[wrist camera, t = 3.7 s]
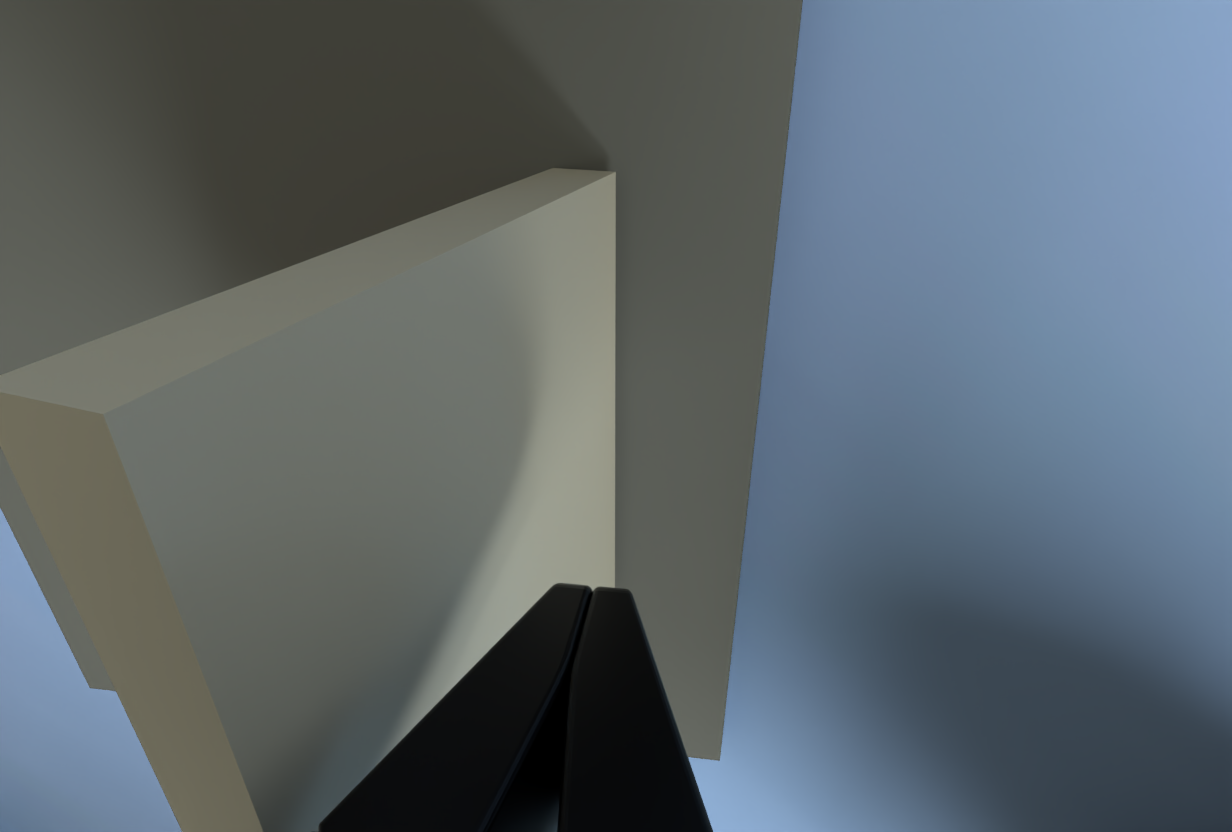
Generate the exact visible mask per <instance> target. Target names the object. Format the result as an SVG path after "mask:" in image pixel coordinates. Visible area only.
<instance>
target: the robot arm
mask: <svg viewBox="0 0 1232 832" xmlns="http://www.w3.org/2000/svg"><path fill="white" fill-rule="evenodd" d="M312 832H315V831H312ZM318 832H713V830H712V827H711V824H710V821H709V818H708V815H707V812H706V809H705V806H704V803H703V800H702V798H701V795H700V792H699V789H698V786H697V783H696V780H695V777H694V774H693V771H692V768H691V765H690V762H689V759H688V756H687V753H686V750H685V747H684V744H683V741H682V738H681V735H680V733H679V730H678V727H677V724H676V721H675V718H674V715H673V712H672V709H671V706H670V703H669V700H668V697H667V694H666V691H665V688H664V685H663V682H662V679H661V676H660V673H659V670H658V668H657V665H656V662H655V659H654V656H653V653H652V650H651V647H650V644H649V641H648V638H647V635H646V632H645V629H644V626H643V623H642V620H641V617H640V614H639V611H638V608H637V606H636V603H635V600H634V597H633V594H632V593H631V591H630V590H628V589H624V588H613V587H602V586H598V587H596V588H595V589H594V590H593V591H592V589H591V587H589V586H588V585H580V584H570V583H557V584H554V585H553V586H552V587H551V588H550V589H549V590H548V591H547V592H546V593H545V594H544V595H543V596H542V597H541V598H540V599H539V600H538V601H537V602H536V603H535V604H534V605H533V606H532V607H531V608H530V609H529V610H528V611H527V612H526V613H525V614H524V615H523V616H522V617H521V618H520V619H519V620H518V621H517V622H516V623H515V624H514V625H513V626H512V627H511V628H510V629H509V630H508V631H507V632H506V634H505V635H504V636H503V637H502V638H501V639H500V640H499V641H498V642H497V643H496V644H495V645H494V646H493V647H492V648H491V649H490V650H489V651H488V652H487V653H486V654H485V655H484V656H483V657H482V658H481V659H480V660H479V661H478V662H477V663H476V664H475V665H474V666H473V667H472V668H471V669H470V670H469V671H468V672H467V673H466V674H465V675H464V676H463V677H462V678H461V679H460V680H459V682H458V683H457V684H456V685H455V686H454V687H453V688H452V689H451V690H450V691H449V692H448V693H447V694H446V695H445V696H444V697H443V698H442V699H441V700H440V701H439V702H438V703H437V704H436V705H435V706H434V707H433V708H432V709H431V710H430V711H429V712H428V713H427V714H426V715H425V716H424V717H423V718H422V719H421V720H420V721H419V722H418V723H417V724H416V725H415V726H414V727H413V728H412V730H411V731H410V732H409V733H408V734H407V735H406V736H405V737H404V738H403V739H402V740H401V741H400V742H399V743H398V744H397V745H396V746H395V747H394V748H393V749H392V750H391V751H390V752H389V753H388V754H387V755H386V756H385V757H384V758H383V759H382V760H381V761H380V762H379V763H378V764H377V765H376V766H375V767H374V768H373V769H372V770H371V771H370V772H369V773H368V774H367V775H366V776H365V778H364V779H363V780H362V781H361V782H360V783H359V784H358V785H357V786H356V787H355V788H354V789H353V790H352V791H351V792H350V793H349V794H348V795H347V796H346V797H345V798H344V799H343V800H342V801H341V802H340V803H339V804H338V805H337V806H336V807H335V808H334V809H333V810H332V811H331V812H330V813H329V814H328V815H327V816H326V817H325V818H324V819H323V820H322V821H321V822H320V824H319V826H318Z"/></svg>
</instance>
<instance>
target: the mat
mask: <svg viewBox="0 0 1232 832" xmlns="http://www.w3.org/2000/svg"><path fill="white" fill-rule="evenodd" d="M802 1H803V0H0V375H2V374H5V373H8V372H10V371H13V370H16V369H18V368H21V367H24V366H26V365H29V364H32V363H34V362H37V361H40V360H42V359H45V358H48V357H50V356H53V355H56V354H58V353H61V352H64V351H66V350H69V349H72V348H74V347H77V346H80V345H82V344H85V343H88V342H90V341H93V340H96V339H98V338H101V337H104V336H106V335H109V334H112V333H114V332H117V331H120V330H122V329H125V328H128V327H130V326H133V325H136V324H138V323H141V322H144V321H146V320H149V319H152V318H154V317H157V316H160V315H162V314H165V313H168V312H170V311H173V310H176V309H178V308H181V307H184V306H186V305H189V304H192V303H194V302H197V301H200V300H202V299H205V298H208V297H210V296H213V295H216V294H218V293H221V292H224V291H226V290H229V289H232V288H234V287H237V286H240V285H242V284H245V283H248V282H250V281H253V280H256V279H258V278H261V277H264V276H266V275H269V274H272V273H274V272H277V271H280V270H282V269H285V268H288V267H290V266H293V265H296V264H298V263H301V262H304V261H306V260H309V259H312V258H314V257H317V256H320V255H322V254H325V253H328V252H330V251H333V250H336V249H338V248H341V247H344V246H346V245H349V244H351V243H354V242H357V241H359V240H362V239H365V238H367V237H370V236H373V235H375V234H378V233H381V232H383V231H386V230H389V229H391V228H394V227H397V226H399V225H402V224H405V223H407V222H410V221H413V220H415V219H418V218H421V217H423V216H426V215H429V214H431V213H434V212H437V211H439V210H442V209H445V208H447V207H450V206H453V205H455V204H458V203H461V202H463V201H466V200H469V199H471V198H474V197H477V196H479V195H482V194H485V193H487V192H490V191H493V190H495V189H498V188H501V187H503V186H506V185H509V184H511V183H514V182H517V181H519V180H522V179H525V178H527V177H530V176H533V175H535V174H538V173H541V172H543V171H546V170H549V169H551V168H562V169H578V170H595V171H611V172H616V285H615V588H624V589H628V590H630V591H631V593H632V594H633V597H634V600H635V603H636V606H637V608H638V611H639V614H640V617H641V620H642V623H643V626H644V629H645V632H646V635H647V638H648V641H649V644H650V647H651V650H652V653H653V656H654V659H655V662H656V665H657V668H658V670H659V673H660V676H661V679H662V682H663V685H664V688H665V691H666V694H667V697H668V700H669V703H670V706H671V709H672V712H673V715H674V718H675V721H676V724H677V727H678V730H679V733H680V735H681V738H682V741H683V744H684V747H685V750H686V753H687V756H688V757H693V758H701V759H710V760H719V761H720V753H721V744H722V735H723V726H724V716H725V707H726V698H727V689H728V680H729V671H730V661H731V652H732V643H733V634H734V625H735V616H736V606H737V597H738V588H739V579H740V570H741V561H742V551H743V542H744V533H745V524H746V515H747V506H748V496H749V487H750V478H751V469H752V460H753V451H754V441H755V432H756V423H757V414H758V405H759V396H760V386H761V377H762V368H763V359H764V350H765V341H766V331H767V322H768V313H769V304H770V295H771V286H772V276H773V267H774V258H775V249H776V240H777V231H778V221H779V212H780V203H781V194H782V185H783V176H784V166H785V157H786V148H787V139H788V130H789V121H790V111H791V102H792V93H793V84H794V75H795V66H796V56H797V47H798V38H799V29H800V20H801V10H802ZM0 508H1V510H2V512H3V514H4V516H5V518H6V520H7V522H8V524H9V526H10V528H11V530H12V532H13V534H14V536H15V538H16V540H17V542H18V544H19V546H20V548H21V550H22V552H23V554H24V556H25V558H26V560H27V562H28V564H29V566H30V568H31V570H32V572H33V574H34V576H35V578H36V580H37V582H38V584H39V586H40V588H41V590H42V592H43V594H44V596H45V598H46V600H47V602H48V604H49V606H50V608H51V610H52V612H53V614H54V616H55V618H56V620H57V623H58V625H59V627H60V629H61V631H62V633H63V635H64V637H65V639H66V641H67V643H68V645H69V647H70V649H71V651H72V653H73V655H74V657H75V659H76V661H77V663H78V665H79V667H80V669H81V671H82V673H83V675H84V677H85V679H86V681H87V683H88V685H89V687H90V688H94V689H103V690H111V691H116V690H115V688H114V686H113V684H112V682H111V679H110V677H109V675H108V673H107V671H106V669H105V667H104V665H103V662H102V660H101V658H100V656H99V654H98V652H97V650H96V648H95V646H94V643H93V641H92V639H91V637H90V635H89V633H88V631H87V629H86V627H85V624H84V622H83V620H82V618H81V616H80V614H79V612H78V610H77V607H76V605H75V603H74V601H73V599H72V597H71V595H70V593H69V591H68V588H67V586H66V584H65V582H64V580H63V578H62V576H61V574H60V571H59V569H58V567H57V565H56V563H55V561H54V559H53V557H52V555H51V552H50V550H49V548H48V546H47V544H46V542H45V540H44V538H43V535H42V533H41V531H40V529H39V527H38V525H37V523H36V521H35V519H34V516H33V514H32V512H31V510H30V508H29V506H28V504H27V502H26V499H25V497H24V495H23V493H22V491H21V489H20V487H19V485H18V483H17V480H16V478H15V476H14V474H13V472H12V470H11V468H10V466H9V464H8V461H7V459H6V457H5V455H4V453H3V451H2V449H1V447H0Z"/></svg>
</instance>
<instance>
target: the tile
mask: <svg viewBox="0 0 1232 832" xmlns="http://www.w3.org/2000/svg"><path fill="white" fill-rule="evenodd" d="M615 285H616V172H611V171H595V170H578V169H562V168H551V169H549V170H546V171H543V172H541V173H538V174H535V175H533V176H530V177H527V178H525V179H522V180H519V181H517V182H514V183H511V184H509V185H506V186H503V187H501V188H498V189H495V190H493V191H490V192H487V193H485V194H482V195H479V196H477V197H474V198H471V199H469V200H466V201H463V202H461V203H458V204H455V205H453V206H450V207H447V208H445V209H442V210H439V211H437V212H434V213H431V214H429V215H426V216H423V217H421V218H418V219H415V220H413V221H410V222H407V223H405V224H402V225H399V226H397V227H394V228H391V229H389V230H386V231H383V232H381V233H378V234H375V235H373V236H370V237H367V238H365V239H362V240H359V241H357V242H354V243H351V244H349V245H346V246H344V247H341V248H338V249H336V250H333V251H330V252H328V253H325V254H322V255H320V256H317V257H314V258H312V259H309V260H306V261H304V262H301V263H298V264H296V265H293V266H290V267H288V268H285V269H282V270H280V271H277V272H274V273H272V274H269V275H266V276H264V277H261V278H258V279H256V280H253V281H250V282H248V283H245V284H242V285H240V286H237V287H234V288H232V289H229V290H226V291H224V292H221V293H218V294H216V295H213V296H210V297H208V298H205V299H202V300H200V301H197V302H194V303H192V304H189V305H186V306H184V307H181V308H178V309H176V310H173V311H170V312H168V313H165V314H162V315H160V316H157V317H154V318H152V319H149V320H146V321H144V322H141V323H138V324H136V325H133V326H130V327H128V328H125V329H122V330H120V331H117V332H114V333H112V334H109V335H106V336H104V337H101V338H98V339H96V340H93V341H90V342H88V343H85V344H82V345H80V346H77V347H74V348H72V349H69V350H66V351H64V352H61V353H58V354H56V355H53V356H50V357H48V358H45V359H42V360H40V361H37V362H34V363H32V364H29V365H26V366H24V367H21V368H18V369H16V370H13V371H10V372H8V373H5V374H2V375H0V447H1V449H2V451H3V453H4V455H5V457H6V459H7V461H8V464H9V466H10V468H11V470H12V472H13V474H14V476H15V478H16V480H17V483H18V485H19V487H20V489H21V491H22V493H23V495H24V497H25V499H26V502H27V504H28V506H29V508H30V510H31V512H32V514H33V516H34V519H35V521H36V523H37V525H38V527H39V529H40V531H41V533H42V535H43V538H44V540H45V542H46V544H47V546H48V548H49V550H50V552H51V555H52V557H53V559H54V561H55V563H56V565H57V567H58V569H59V571H60V574H61V576H62V578H63V580H64V582H65V584H66V586H67V588H68V591H69V593H70V595H71V597H72V599H73V601H74V603H75V605H76V607H77V610H78V612H79V614H80V616H81V618H82V620H83V622H84V624H85V627H86V629H87V631H88V633H89V635H90V637H91V639H92V641H93V643H94V646H95V648H96V650H97V652H98V654H99V656H100V658H101V660H102V662H103V665H104V667H105V669H106V671H107V673H108V675H109V677H110V679H111V682H112V684H113V686H114V688H115V690H116V692H117V694H118V696H119V698H120V701H121V703H122V705H123V707H124V709H125V711H126V713H127V715H128V718H129V720H130V722H131V724H132V726H133V728H134V730H135V732H136V734H137V737H138V739H139V741H140V743H141V745H142V747H143V749H144V751H145V754H146V756H147V758H148V760H149V762H150V764H151V766H152V768H153V770H154V773H155V775H156V777H157V779H158V781H159V783H160V785H161V787H162V790H163V792H164V794H165V796H166V798H167V800H168V802H169V804H170V806H171V809H172V811H173V813H174V815H175V817H176V819H177V821H178V823H179V825H180V828H181V830H182V832H312V831H315V832H318V826H319V824H320V822H321V821H322V820H323V819H324V818H325V817H326V816H327V815H328V814H329V813H330V812H331V811H332V810H333V809H334V808H335V807H336V806H337V805H338V804H339V803H340V802H341V801H342V800H343V799H344V798H345V797H346V796H347V795H348V794H349V793H350V792H351V791H352V790H353V789H354V788H355V787H356V786H357V785H358V784H359V783H360V782H361V781H362V780H363V779H364V778H365V776H366V775H367V774H368V773H369V772H370V771H371V770H372V769H373V768H374V767H375V766H376V765H377V764H378V763H379V762H380V761H381V760H382V759H383V758H384V757H385V756H386V755H387V754H388V753H389V752H390V751H391V750H392V749H393V748H394V747H395V746H396V745H397V744H398V743H399V742H400V741H401V740H402V739H403V738H404V737H405V736H406V735H407V734H408V733H409V732H410V731H411V730H412V728H413V727H414V726H415V725H416V724H417V723H418V722H419V721H420V720H421V719H422V718H423V717H424V716H425V715H426V714H427V713H428V712H429V711H430V710H431V709H432V708H433V707H434V706H435V705H436V704H437V703H438V702H439V701H440V700H441V699H442V698H443V697H444V696H445V695H446V694H447V693H448V692H449V691H450V690H451V689H452V688H453V687H454V686H455V685H456V684H457V683H458V682H459V680H460V679H461V678H462V677H463V676H464V675H465V674H466V673H467V672H468V671H469V670H470V669H471V668H472V667H473V666H474V665H475V664H476V663H477V662H478V661H479V660H480V659H481V658H482V657H483V656H484V655H485V654H486V653H487V652H488V651H489V650H490V649H491V648H492V647H493V646H494V645H495V644H496V643H497V642H498V641H499V640H500V639H501V638H502V637H503V636H504V635H505V634H506V632H507V631H508V630H509V629H510V628H511V627H512V626H513V625H514V624H515V623H516V622H517V621H518V620H519V619H520V618H521V617H522V616H523V615H524V614H525V613H526V612H527V611H528V610H529V609H530V608H531V607H532V606H533V605H534V604H535V603H536V602H537V601H538V600H539V599H540V598H541V597H542V596H543V595H544V594H545V593H546V592H547V591H548V590H549V589H550V588H551V587H552V586H553V585H554V584H557V583H570V584H580V585H588V586H589V587H591V589H592V591H593V590H594V589H595V588H596V587H598V586H602V587H613V588H615Z"/></svg>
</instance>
